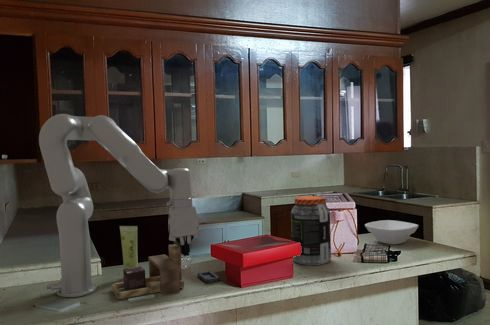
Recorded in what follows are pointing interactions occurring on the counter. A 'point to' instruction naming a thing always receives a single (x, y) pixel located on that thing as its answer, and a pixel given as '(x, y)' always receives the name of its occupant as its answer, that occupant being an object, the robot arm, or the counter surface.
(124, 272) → the box
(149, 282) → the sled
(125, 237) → the tube
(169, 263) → the tunnel
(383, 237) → the bowl
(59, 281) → the robot arm
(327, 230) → the supplement tub
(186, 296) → the counter surface
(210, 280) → the pit tray
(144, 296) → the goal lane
